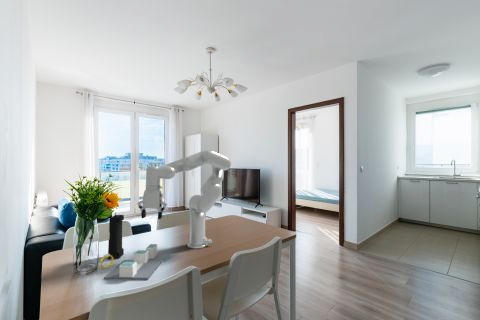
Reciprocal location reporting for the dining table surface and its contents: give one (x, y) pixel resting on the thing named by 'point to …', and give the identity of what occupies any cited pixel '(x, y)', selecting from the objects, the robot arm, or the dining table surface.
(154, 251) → the module block
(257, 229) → the dining table surface
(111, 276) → the board
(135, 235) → the dining table surface
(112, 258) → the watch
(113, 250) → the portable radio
